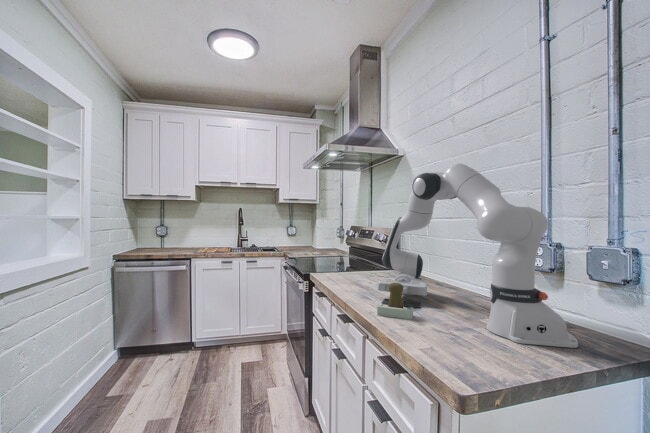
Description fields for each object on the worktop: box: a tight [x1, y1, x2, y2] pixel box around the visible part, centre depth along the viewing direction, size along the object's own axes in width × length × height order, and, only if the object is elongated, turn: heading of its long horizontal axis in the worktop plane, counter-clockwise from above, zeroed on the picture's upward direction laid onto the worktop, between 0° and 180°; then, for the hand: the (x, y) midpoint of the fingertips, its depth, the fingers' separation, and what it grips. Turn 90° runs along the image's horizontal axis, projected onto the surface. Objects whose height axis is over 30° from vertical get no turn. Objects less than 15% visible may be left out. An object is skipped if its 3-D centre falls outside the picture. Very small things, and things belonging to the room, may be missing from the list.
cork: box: [387, 283, 404, 309], centre depth 108 cm, size 6×6×11 cm
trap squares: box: [381, 298, 422, 309], centre depth 119 cm, size 15×7×1 cm, turn 67°
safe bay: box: [376, 302, 414, 321], centre depth 105 cm, size 12×4×3 cm, turn 67°
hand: (399, 291), depth 116 cm, fingers closed
